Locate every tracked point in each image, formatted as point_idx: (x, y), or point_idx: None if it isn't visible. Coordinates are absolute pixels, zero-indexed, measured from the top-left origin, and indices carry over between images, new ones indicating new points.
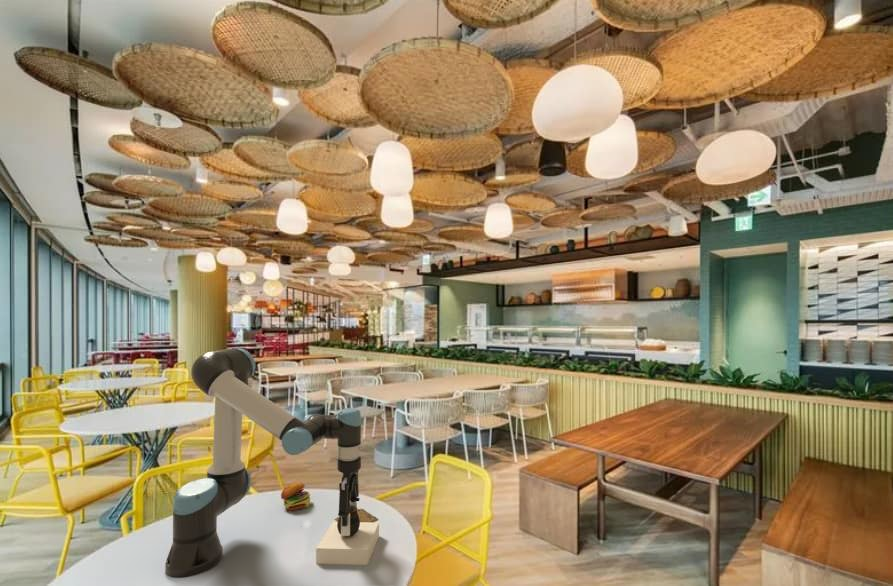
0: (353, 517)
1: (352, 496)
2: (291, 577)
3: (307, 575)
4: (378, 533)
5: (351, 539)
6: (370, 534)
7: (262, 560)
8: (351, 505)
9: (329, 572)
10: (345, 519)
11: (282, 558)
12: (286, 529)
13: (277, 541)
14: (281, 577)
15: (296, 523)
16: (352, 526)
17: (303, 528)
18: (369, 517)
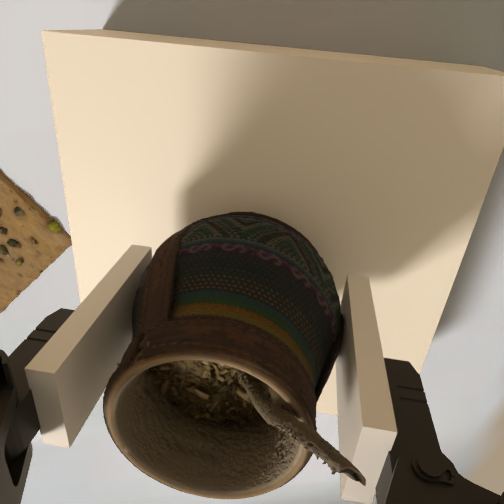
0: (287, 332)
1: (2, 493)
2: (480, 435)
3: (486, 382)
4: (106, 31)
5: (323, 240)
6: (257, 88)
7: None
8: (114, 412)
9: (494, 292)
10: (429, 433)
11: (319, 476)
12: (103, 486)
13: (193, 500)
14: (466, 465)
15: (52, 463)
16: (328, 290)
17: (85, 438)
18: None
